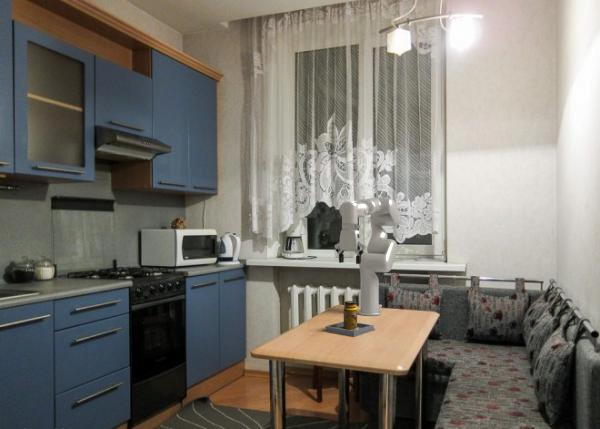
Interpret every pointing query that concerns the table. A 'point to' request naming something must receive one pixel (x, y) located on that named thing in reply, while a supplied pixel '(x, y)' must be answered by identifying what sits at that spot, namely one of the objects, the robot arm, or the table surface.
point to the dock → (361, 330)
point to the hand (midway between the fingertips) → (349, 263)
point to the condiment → (350, 316)
